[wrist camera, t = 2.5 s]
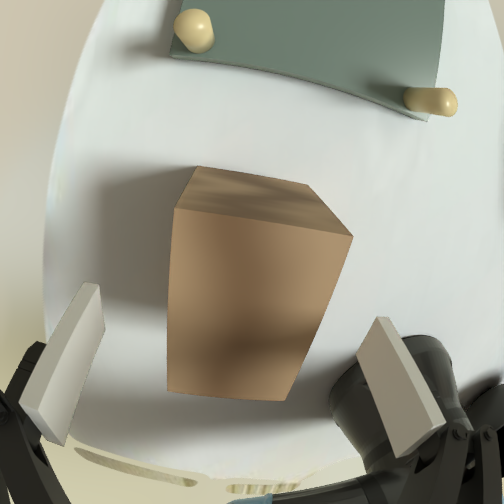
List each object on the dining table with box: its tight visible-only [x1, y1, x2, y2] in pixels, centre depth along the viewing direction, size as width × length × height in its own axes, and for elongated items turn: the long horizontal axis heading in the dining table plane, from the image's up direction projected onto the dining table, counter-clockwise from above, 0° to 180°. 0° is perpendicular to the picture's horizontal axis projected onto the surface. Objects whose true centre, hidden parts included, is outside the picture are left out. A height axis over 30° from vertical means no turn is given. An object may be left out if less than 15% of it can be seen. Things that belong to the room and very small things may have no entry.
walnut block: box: [167, 166, 353, 401], centre depth 17 cm, size 7×11×8 cm, turn 169°
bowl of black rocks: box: [465, 384, 504, 478], centre depth 30 cm, size 20×20×19 cm
